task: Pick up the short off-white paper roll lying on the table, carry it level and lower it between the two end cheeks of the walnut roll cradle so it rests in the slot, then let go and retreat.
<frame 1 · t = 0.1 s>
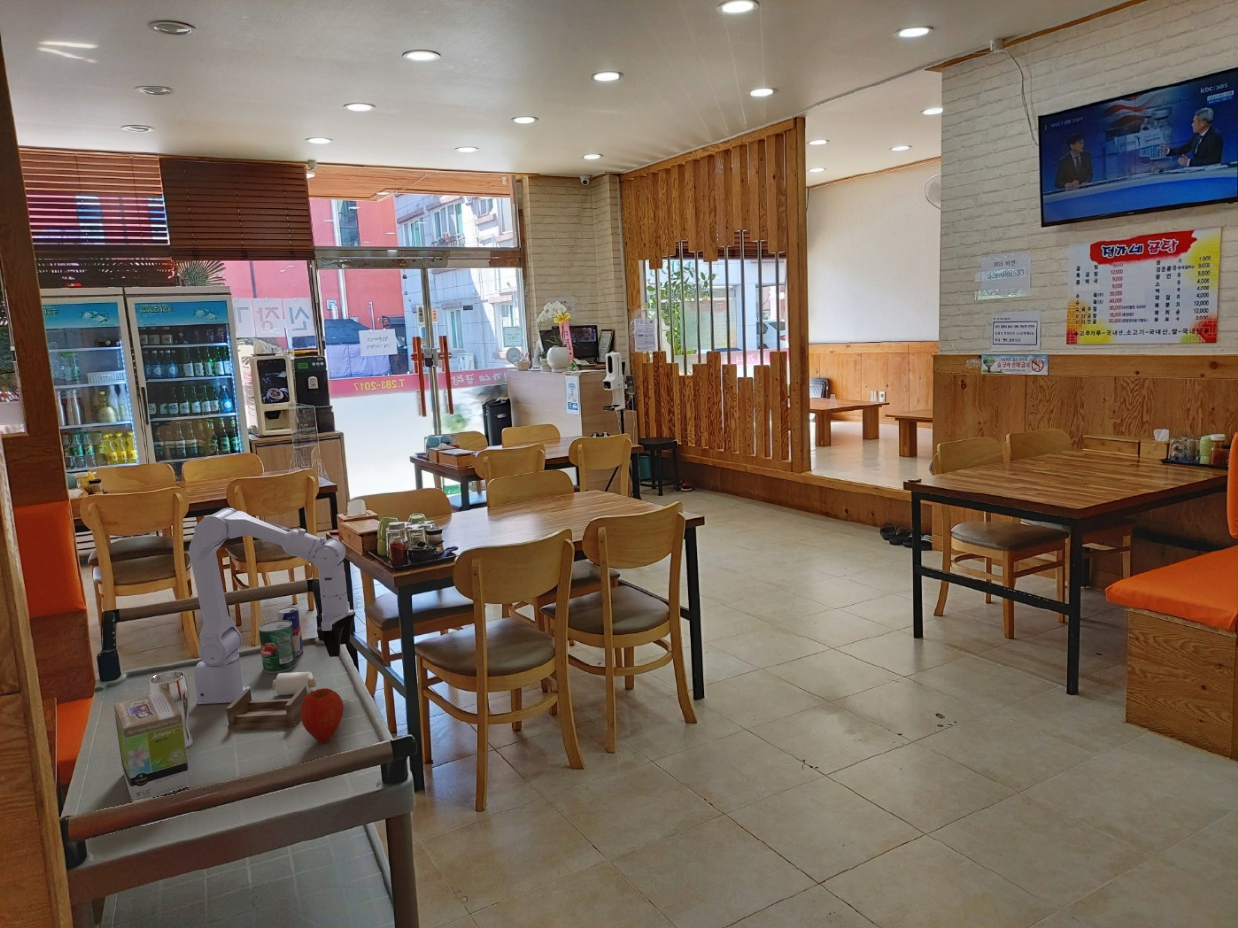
hand: (339, 649, 203), 10 cm above the table, fingers open, 7 cm apart
energy drink: (292, 654, 231), on the table
apple: (325, 741, 180), on the table
tea box: (157, 781, 167), on the table
canned tomato: (280, 667, 222), on the table
roll: (294, 683, 204), point 2 cm above the table
beer glass: (177, 746, 181), on the table
holder: (270, 718, 192), on the table
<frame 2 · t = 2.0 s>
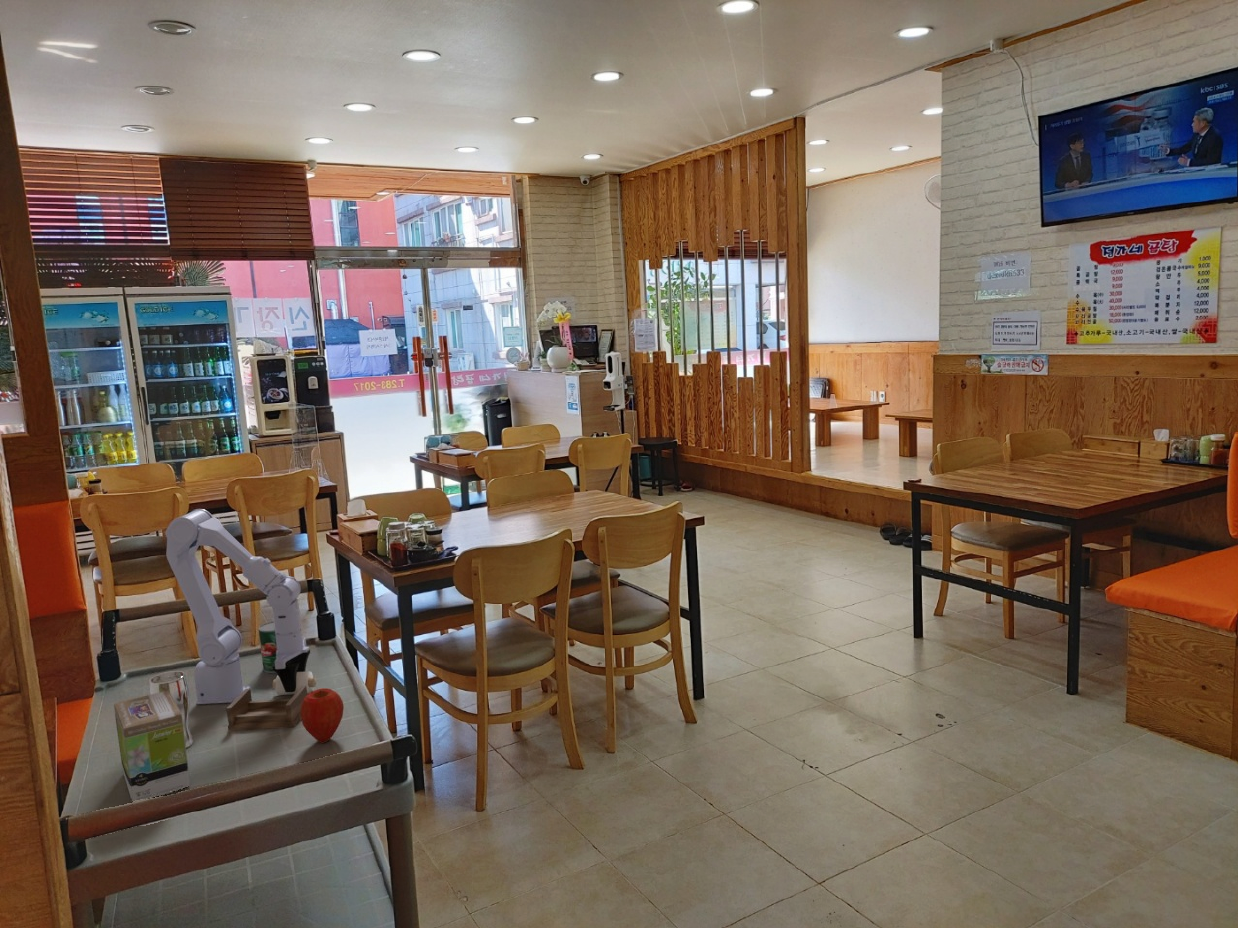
hand: (294, 686, 205), 2 cm above the table, fingers closed on roll, 5 cm apart
roll: (294, 683, 204), point 2 cm above the table, touching gripper
everything else where it was.
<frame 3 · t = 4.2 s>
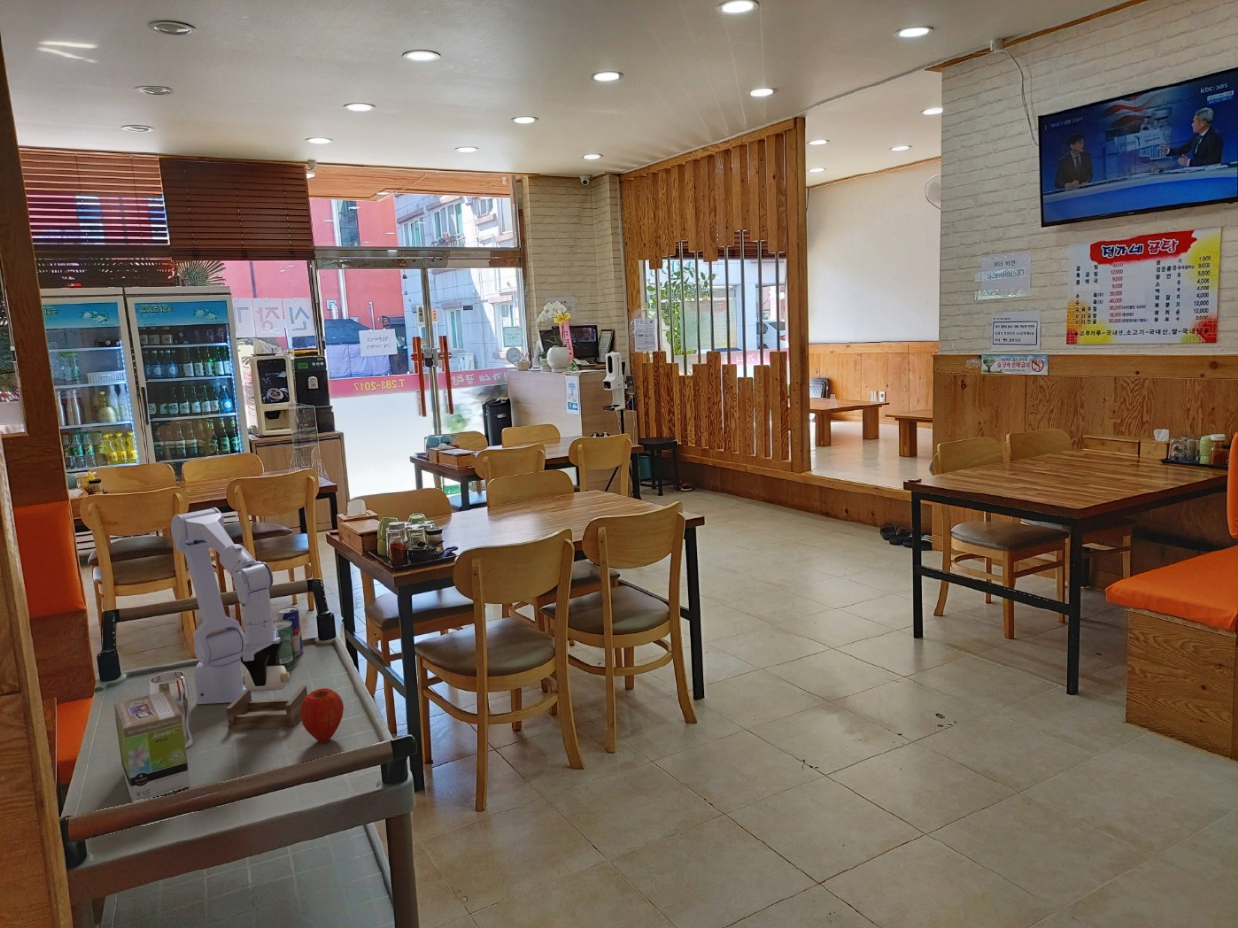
hand: (265, 680, 191), 9 cm above the table, fingers closed on roll, 5 cm apart
roll: (266, 678, 191), point 9 cm above the table, touching gripper
everything else where it was.
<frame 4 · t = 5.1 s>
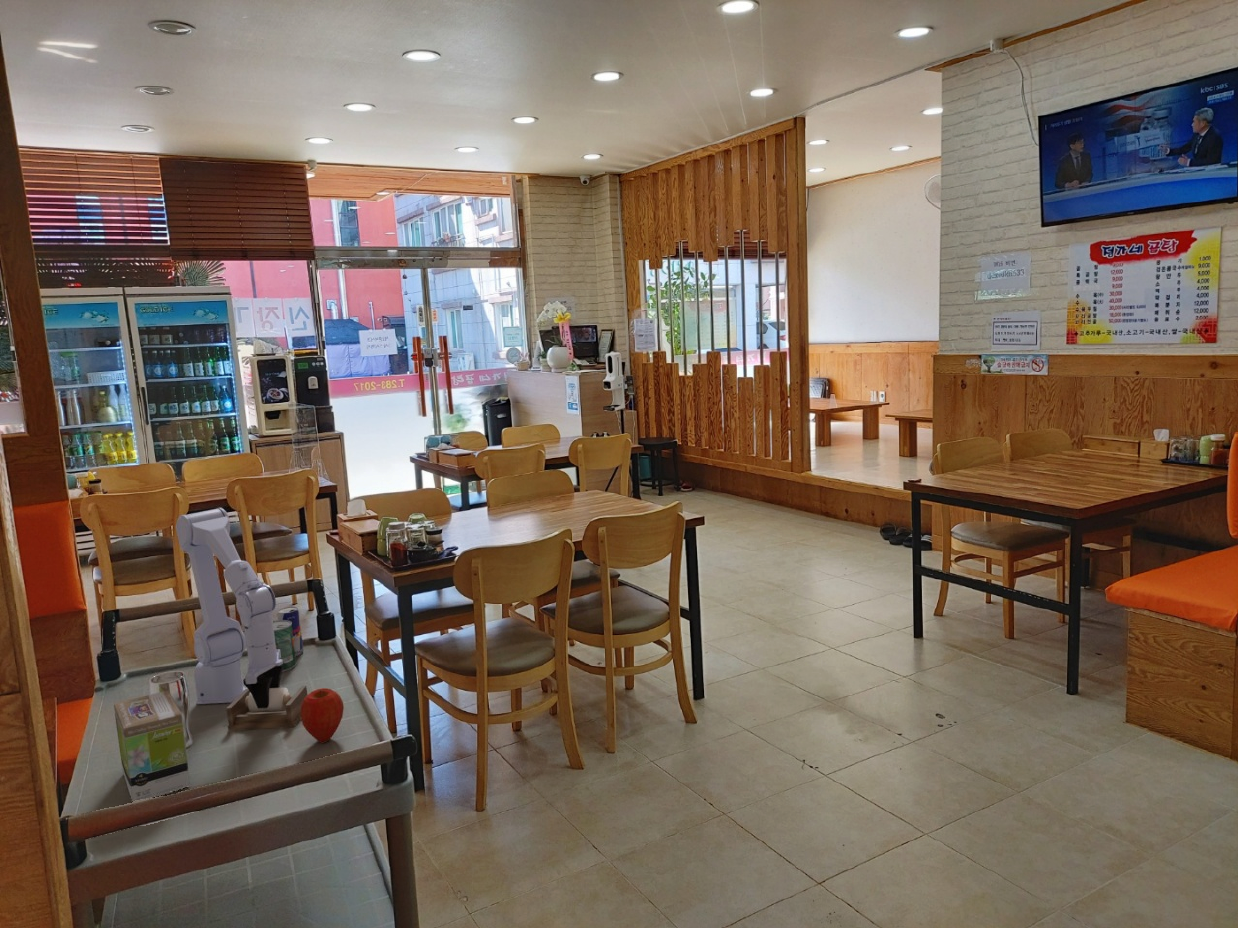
hand: (268, 701, 191), 4 cm above the table, fingers closed on roll, 5 cm apart
roll: (268, 700, 191), point 4 cm above the table, touching gripper
everything else where it was.
when the fingers open (4 cm above the table, at t = 6.0 s): roll stays where it is, resting on holder.
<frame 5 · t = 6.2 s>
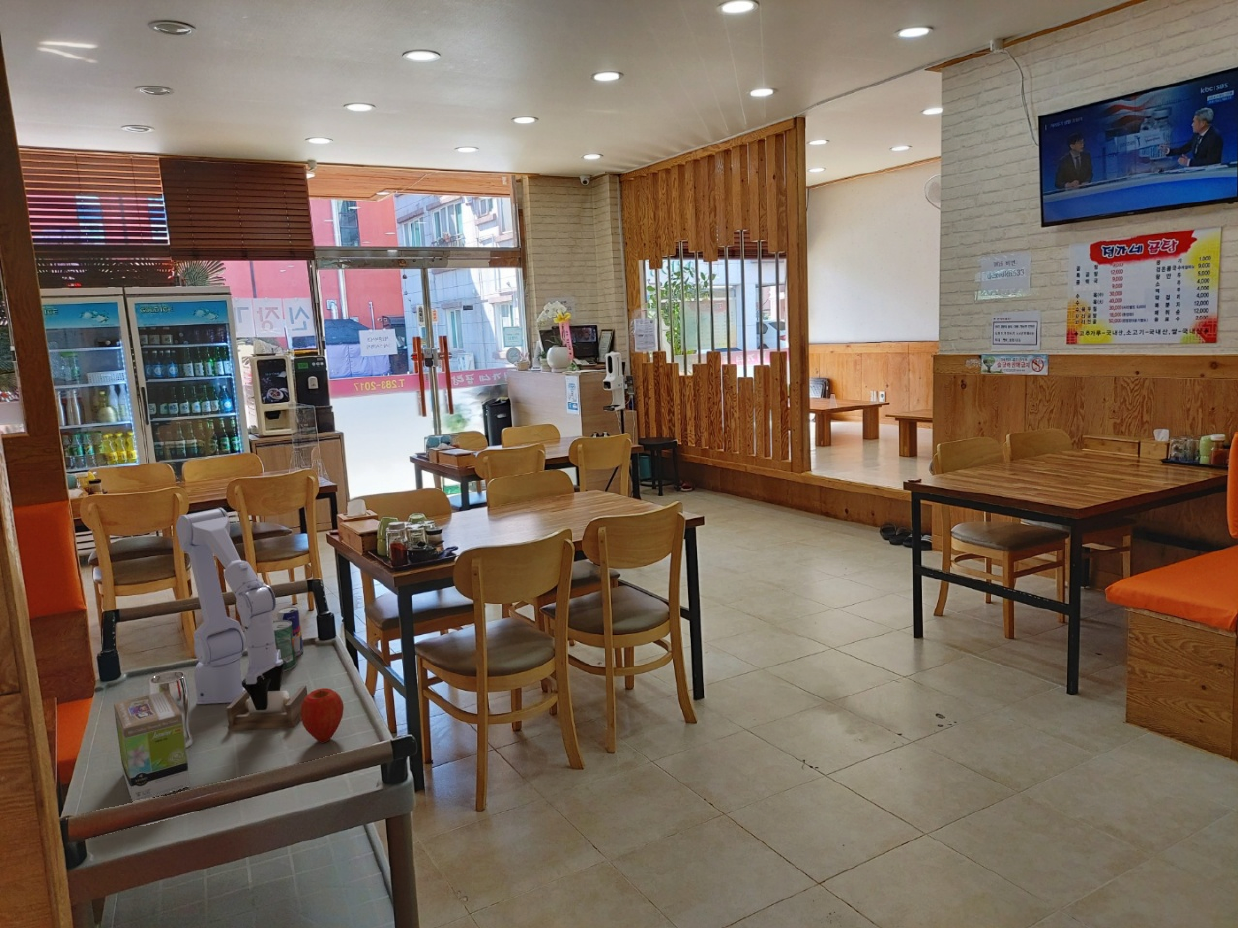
hand: (268, 702, 191), 4 cm above the table, fingers open, 7 cm apart
roll: (269, 703, 191), point 3 cm above the table, tilted 5°, touching holder
everything else where it was.
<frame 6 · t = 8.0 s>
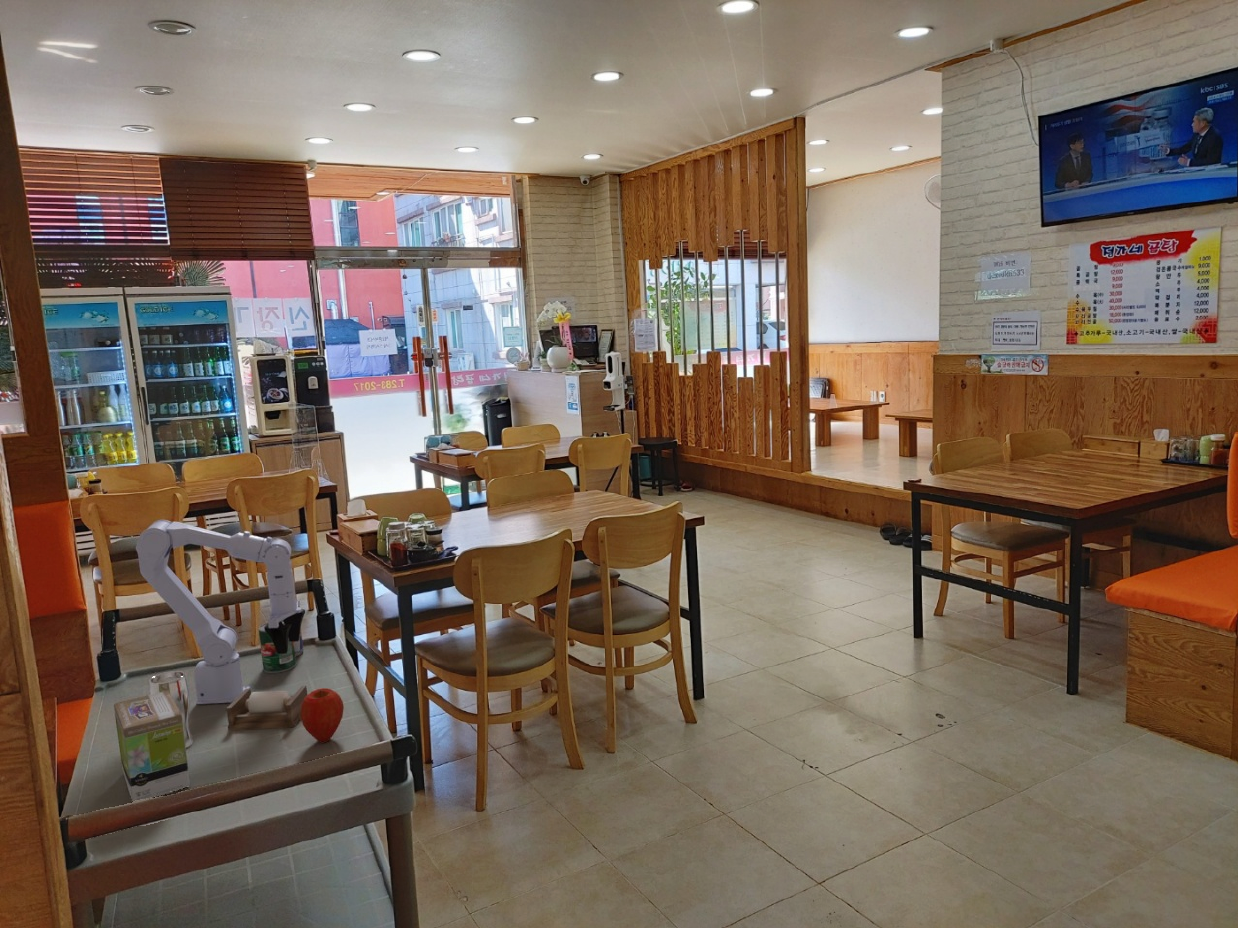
hand: (288, 646, 207), 10 cm above the table, fingers open, 7 cm apart
nothing on the table moved.
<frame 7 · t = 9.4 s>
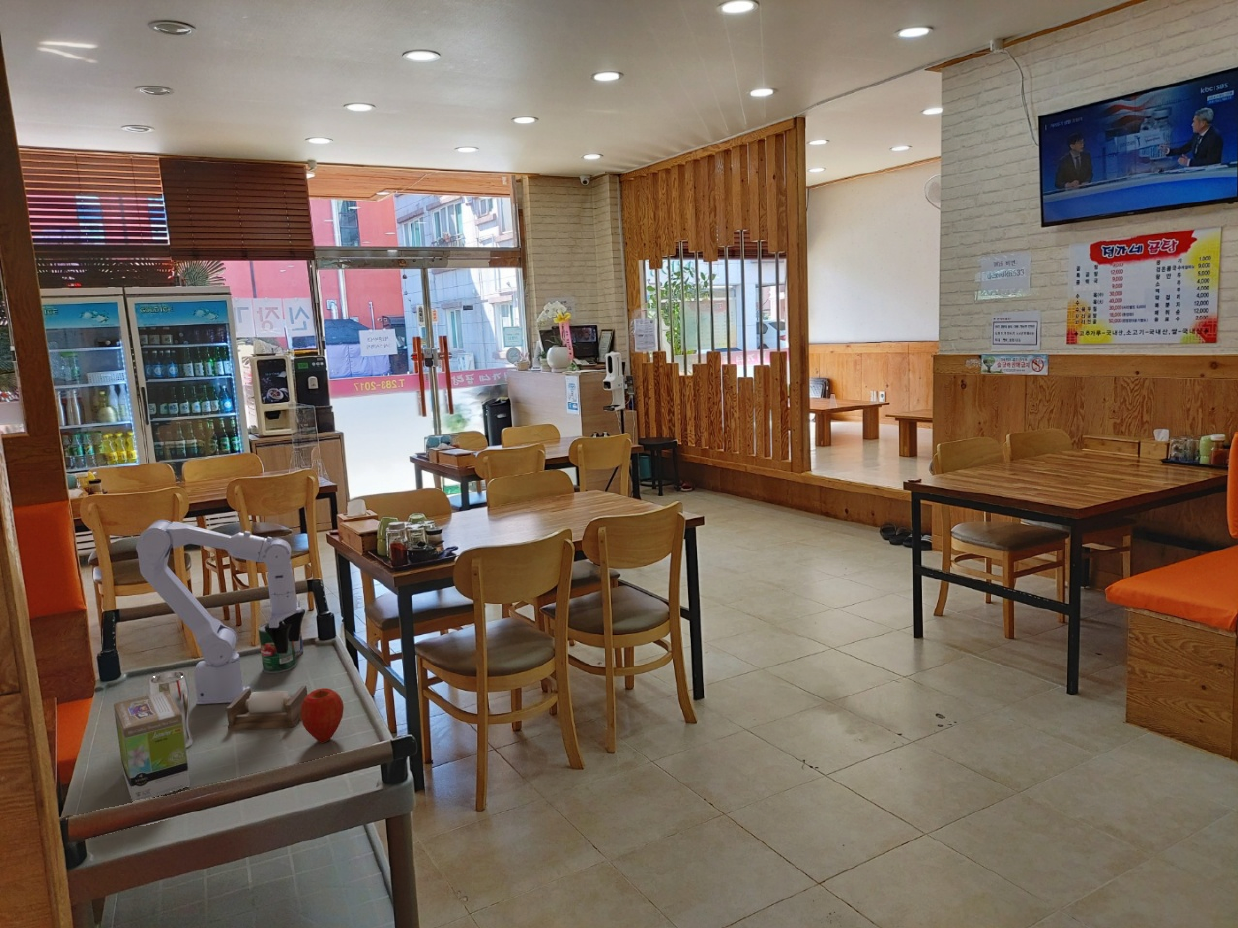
hand: (288, 646, 207), 10 cm above the table, fingers open, 7 cm apart
nothing on the table moved.
at the end: roll 0.2 cm off-centre on the holder, point 3.5 cm above the holder's base; the gripper is holding nothing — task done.
